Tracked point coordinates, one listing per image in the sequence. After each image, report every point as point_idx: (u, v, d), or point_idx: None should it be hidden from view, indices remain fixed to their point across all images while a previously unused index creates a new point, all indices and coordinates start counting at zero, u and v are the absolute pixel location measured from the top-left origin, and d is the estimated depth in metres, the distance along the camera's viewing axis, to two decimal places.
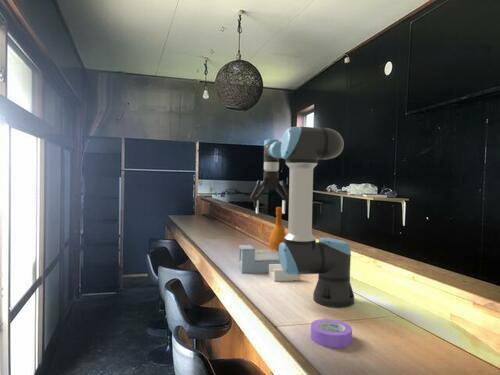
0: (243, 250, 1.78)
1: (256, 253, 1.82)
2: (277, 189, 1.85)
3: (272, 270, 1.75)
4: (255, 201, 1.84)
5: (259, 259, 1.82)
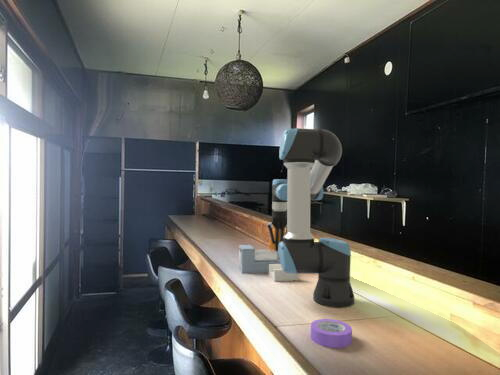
0: (243, 250, 1.78)
1: None
2: (281, 229, 1.85)
3: (272, 270, 1.75)
4: (276, 245, 1.86)
5: (257, 259, 1.82)
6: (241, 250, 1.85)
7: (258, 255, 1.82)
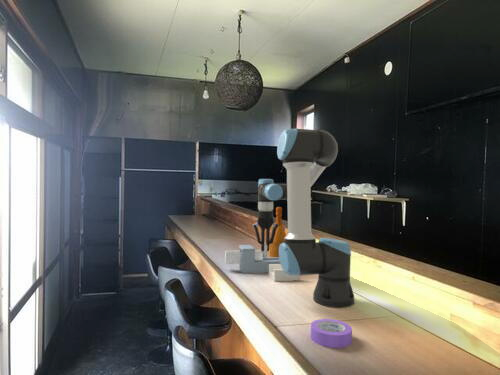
0: (243, 250, 1.78)
1: (240, 253, 1.81)
2: (267, 230, 1.84)
3: (272, 270, 1.75)
4: (262, 245, 1.85)
5: None
6: (227, 250, 1.84)
7: None
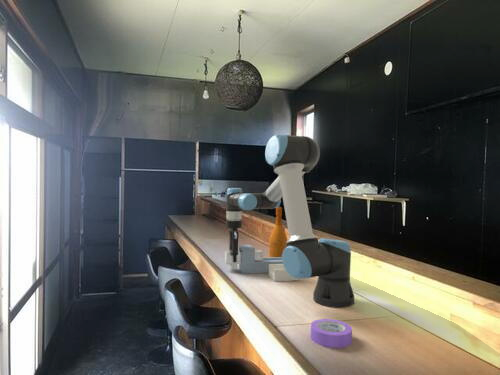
0: (243, 250, 1.78)
1: (240, 253, 1.81)
2: (230, 240, 1.80)
3: (272, 270, 1.75)
4: None
5: None
6: (227, 250, 1.84)
7: None
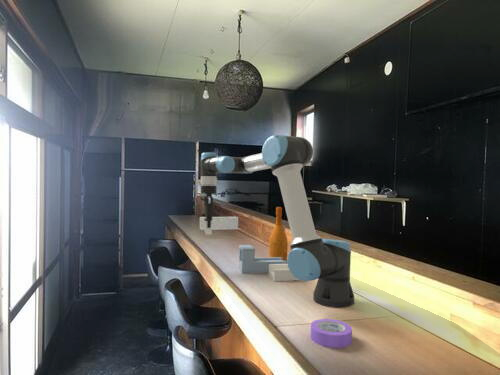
0: (243, 250, 1.78)
1: (215, 219, 1.77)
2: (205, 205, 1.77)
3: (272, 270, 1.75)
4: None
5: (218, 226, 1.78)
6: (201, 217, 1.80)
7: (218, 221, 1.78)
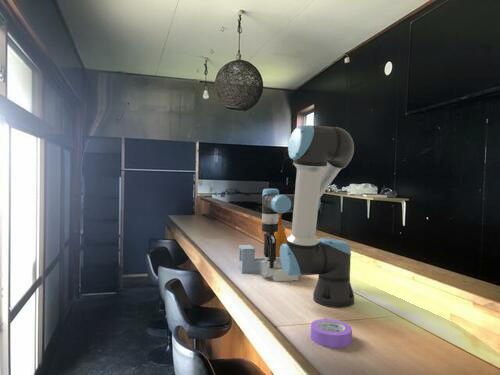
0: (243, 250, 1.78)
1: (277, 264, 1.69)
2: (267, 244, 1.68)
3: None
4: None
5: None
6: (262, 261, 1.72)
7: (281, 266, 1.69)
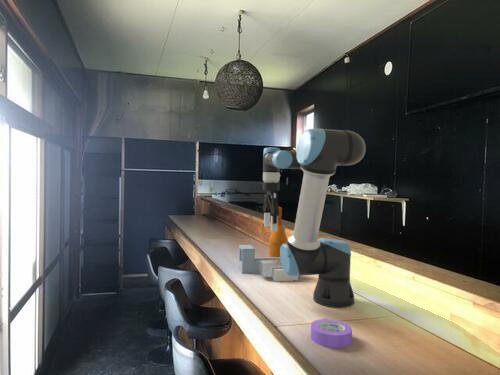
0: (243, 250, 1.78)
1: (277, 264, 1.69)
2: (268, 202, 1.66)
3: None
4: None
5: None
6: (262, 261, 1.72)
7: (281, 266, 1.69)
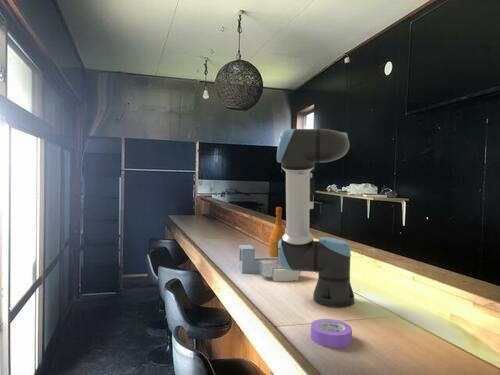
0: (243, 250, 1.78)
1: (277, 264, 1.69)
2: None
3: None
4: None
5: None
6: (262, 261, 1.72)
7: (281, 266, 1.69)
